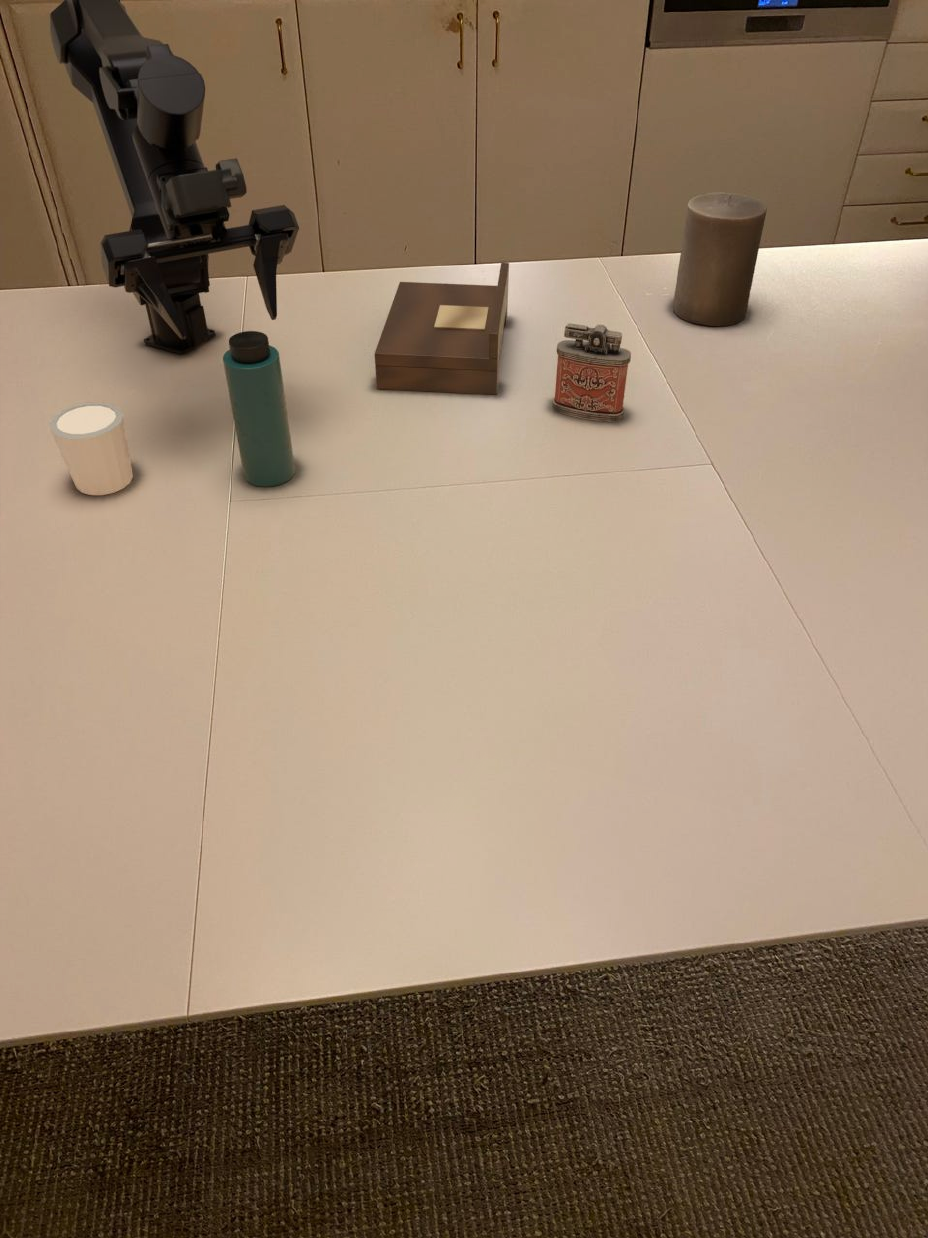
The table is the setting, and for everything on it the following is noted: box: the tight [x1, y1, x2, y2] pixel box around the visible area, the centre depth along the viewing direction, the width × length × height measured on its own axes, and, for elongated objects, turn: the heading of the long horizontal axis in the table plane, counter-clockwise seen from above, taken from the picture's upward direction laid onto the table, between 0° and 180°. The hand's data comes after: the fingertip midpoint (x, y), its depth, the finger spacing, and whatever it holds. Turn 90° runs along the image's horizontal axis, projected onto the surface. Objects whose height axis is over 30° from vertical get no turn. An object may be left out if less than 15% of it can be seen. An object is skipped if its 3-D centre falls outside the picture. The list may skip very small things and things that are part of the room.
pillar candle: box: [672, 191, 768, 327], centre depth 122 cm, size 10×10×15 cm
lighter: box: [552, 322, 632, 423], centre depth 104 cm, size 8×3×10 cm, turn 71°
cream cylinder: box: [49, 402, 134, 496], centre depth 94 cm, size 7×7×7 cm
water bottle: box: [222, 330, 296, 488], centre depth 93 cm, size 5×5×15 cm
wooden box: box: [374, 262, 510, 396], centre depth 115 cm, size 14×20×8 cm
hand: (229, 327), depth 93 cm, fingers open, 9 cm apart
